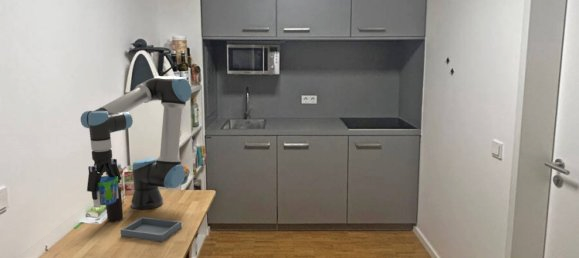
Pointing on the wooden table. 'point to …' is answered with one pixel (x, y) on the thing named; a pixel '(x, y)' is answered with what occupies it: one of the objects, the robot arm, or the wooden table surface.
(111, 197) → the snack cup
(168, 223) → the tray
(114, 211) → the bottle
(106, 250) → the wooden table surface
